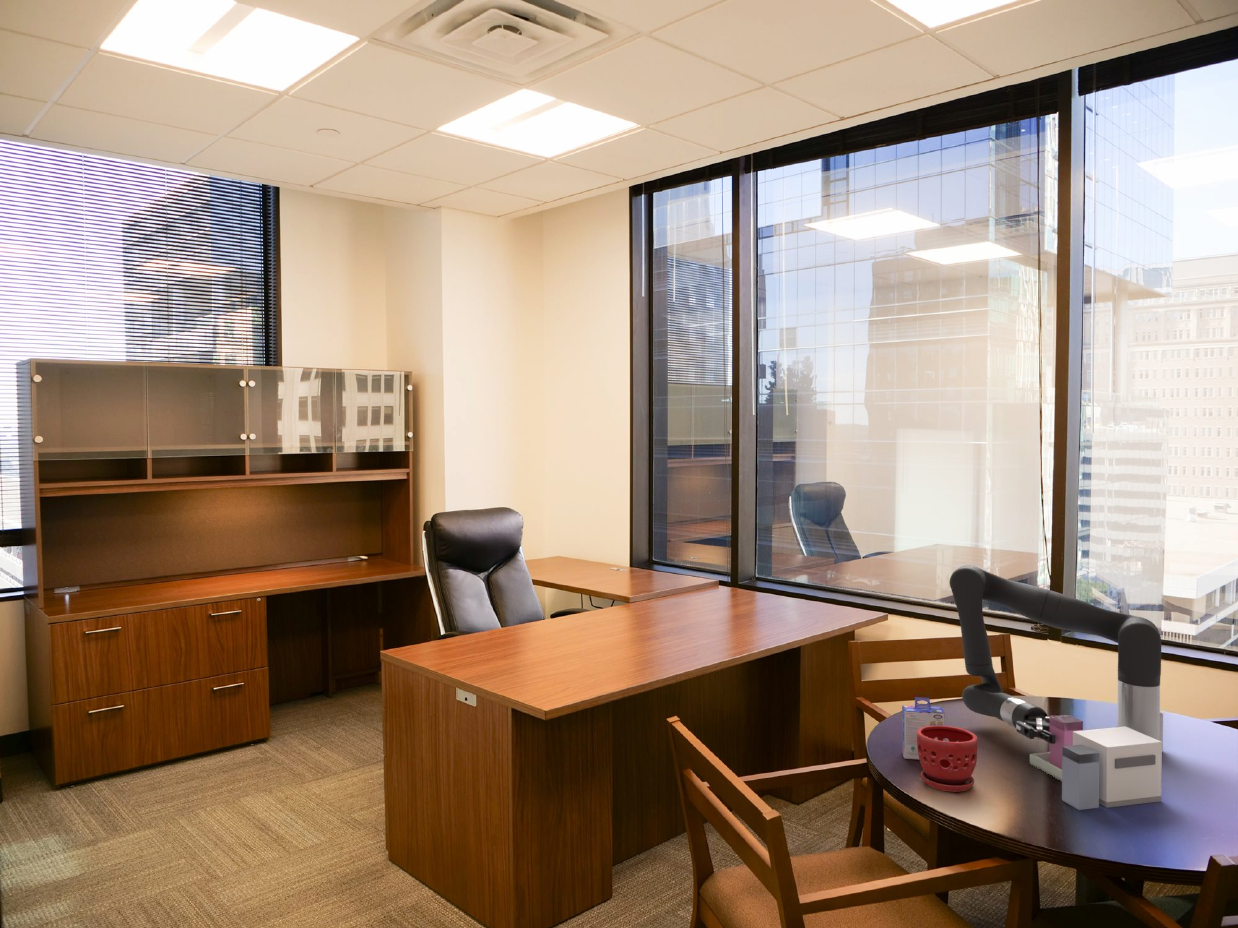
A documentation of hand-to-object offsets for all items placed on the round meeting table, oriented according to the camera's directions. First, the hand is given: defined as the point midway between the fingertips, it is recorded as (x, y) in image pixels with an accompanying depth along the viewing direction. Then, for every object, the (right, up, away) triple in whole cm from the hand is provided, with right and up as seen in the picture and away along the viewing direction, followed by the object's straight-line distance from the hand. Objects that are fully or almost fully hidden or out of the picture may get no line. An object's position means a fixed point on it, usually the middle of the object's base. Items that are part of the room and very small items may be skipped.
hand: (1070, 738), depth 199 cm
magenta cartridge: (0, -8, +1) cm, 8 cm away
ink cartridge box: (-31, -8, +11) cm, 34 cm away
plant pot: (-32, -9, -5) cm, 33 cm away
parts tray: (0, -8, +1) cm, 8 cm away
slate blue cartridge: (-7, -9, -16) cm, 20 cm away
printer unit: (+4, -9, -12) cm, 15 cm away
